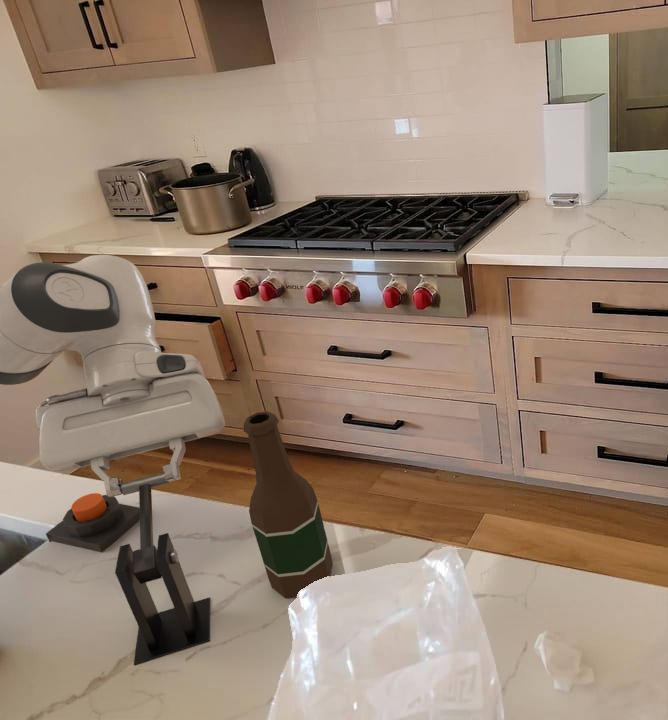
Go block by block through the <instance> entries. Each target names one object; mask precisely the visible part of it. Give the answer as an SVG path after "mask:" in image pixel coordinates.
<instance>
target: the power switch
mask: <svg viewBox="0 0 668 720" xmlns="http://www.w3.org/2000/svg"><path fill="white" fill-rule="evenodd" d="M156 549H157V555H156V563H157V565H158V568H159V570H160V573H161V575H162V578H161V579H162V581H163V583H164V585H165V587H166V590H167V593H168V596H169V598H170V600H171V603H172V606H173V608H170V609H167V610H162V611H160V612H159V611H158V608H157V606H156V604H155V602H154V599H153V597H152V594H151V592H150V590H149V587H148V584H147V582H146V583H142V584H140V582H139V581H138V580H137V578H136V577H135V575H134V574H133V551H134V550H133V548H132V546H131V544H130V543H125V544H123V545H120V546H119V550H118V555H117V561H116V566H115V570H114V573H115V576H116V578H117V581H118V583H119V585H120V588H121V589H122V592H123V594H124V597H125V599H126V602H127V603H128V605H129V608H130V610H131V612H132V615H133V617H134V620H135V622H136V624H137V626H138V629H137V636H136V644H135V652H134V659H133V666H138V665H140V664H144V663H147V662H150V661H153V660H156V659H159V658H162V657H166V656H169V655H173V654H175V653H179V652H181V651H184V650H189V649H191V648H194V647H198V646H200V645H203V644H206V643H209V642H211V605H212V604H211V603H212V601H211V599H212V598H211V597H205V598H203V599H200V600H196V601H195V600H194V597H193V595H192V593H191V592H192V591H191V589H190V587H189V584H188V582H187V579H186V577H185V574H184V571H183V568H182V565H181V563H180V560H179V555H178V552H177V550H176V549H175V546H174V545H173V542H172V539H171V536H170V534H169V532H166V533H162V534H159V535H158V539H157V546H156Z"/></svg>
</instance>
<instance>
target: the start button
mask: <svg viewBox="0 0 668 720" xmlns="http://www.w3.org/2000/svg"><path fill="white" fill-rule="evenodd" d="M102 495H103V494H102V493H98V492H93V493H88V494H85V495H83V496H81V497H79V498H78V499H76V500H75V501H74V502H73V503H72V504H71V507H70V509H72V511H73V513H74V515H75V518H76V520H77V521H79V522H83V521H88V520H92V519H94V518H96V517H99V516H100V515H101V514H103V513H104V512H105V511H106V510H107V505H106V503H105V500H104V498H103V496H102Z"/></svg>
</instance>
